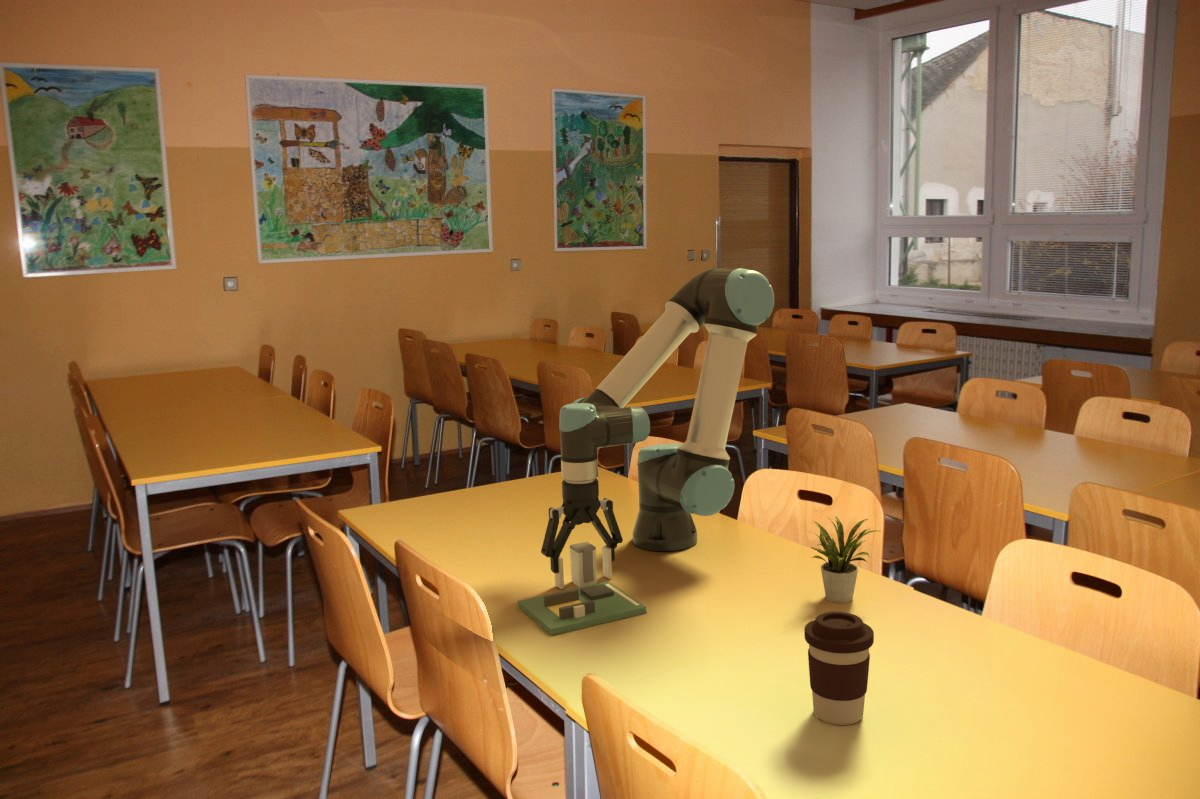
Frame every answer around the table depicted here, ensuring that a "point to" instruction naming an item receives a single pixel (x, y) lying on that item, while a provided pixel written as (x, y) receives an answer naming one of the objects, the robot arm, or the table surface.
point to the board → (580, 607)
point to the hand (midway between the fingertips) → (583, 581)
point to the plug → (583, 564)
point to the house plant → (840, 562)
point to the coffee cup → (838, 665)
